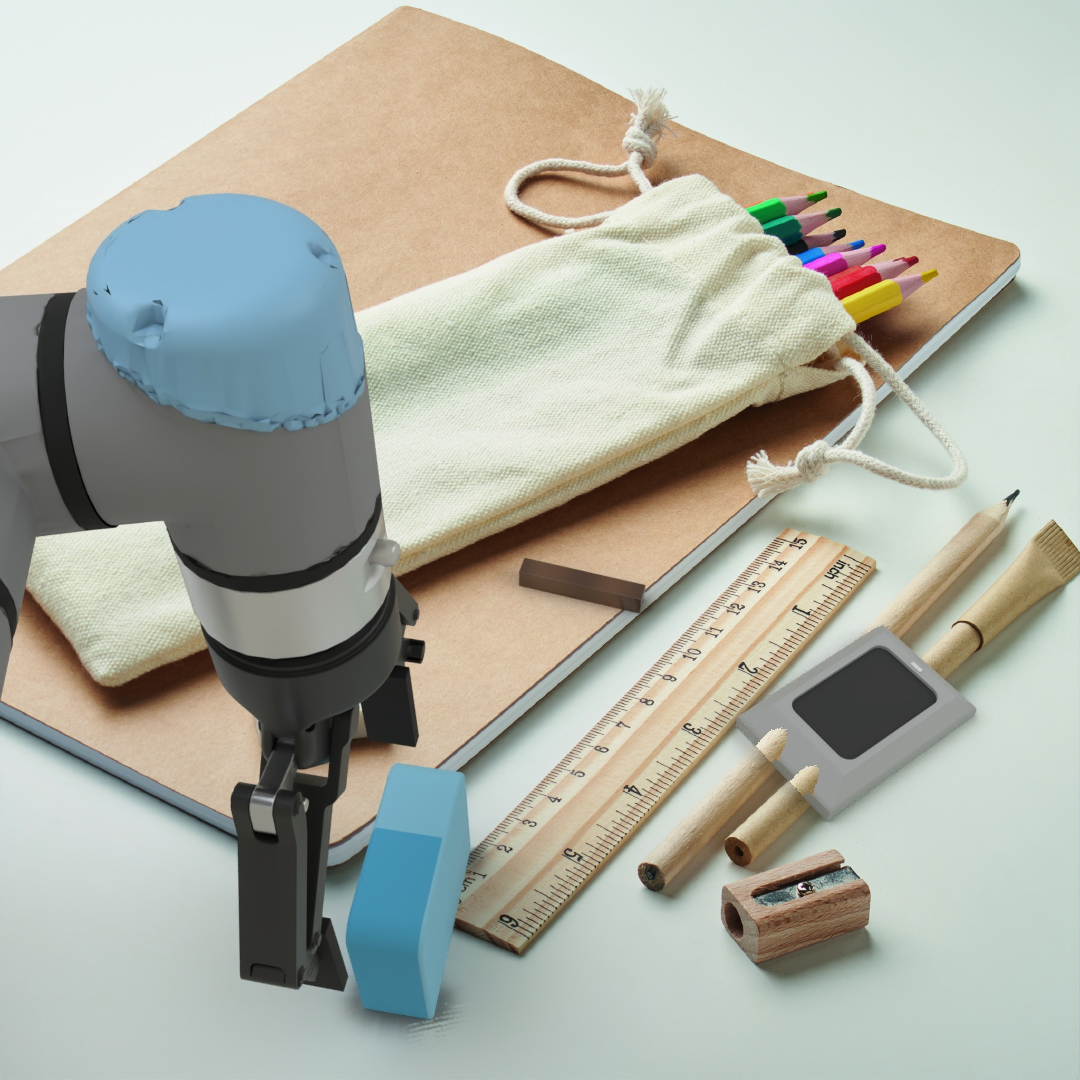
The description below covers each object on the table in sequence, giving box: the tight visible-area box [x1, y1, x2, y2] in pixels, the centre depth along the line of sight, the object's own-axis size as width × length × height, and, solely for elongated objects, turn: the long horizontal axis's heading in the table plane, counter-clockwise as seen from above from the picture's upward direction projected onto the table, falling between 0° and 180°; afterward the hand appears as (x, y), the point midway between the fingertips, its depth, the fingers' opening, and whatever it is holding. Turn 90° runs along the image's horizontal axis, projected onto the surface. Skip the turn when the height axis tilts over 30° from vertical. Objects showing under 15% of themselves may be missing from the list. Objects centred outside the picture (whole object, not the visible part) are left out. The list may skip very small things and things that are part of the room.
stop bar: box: [518, 557, 646, 614], centre depth 97 cm, size 10×2×3 cm, turn 74°
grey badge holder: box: [734, 624, 977, 822], centre depth 89 cm, size 10×4×15 cm
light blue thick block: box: [345, 762, 471, 1020], centre depth 75 cm, size 12×4×12 cm, turn 171°
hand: (358, 850), depth 62 cm, fingers open, 13 cm apart
